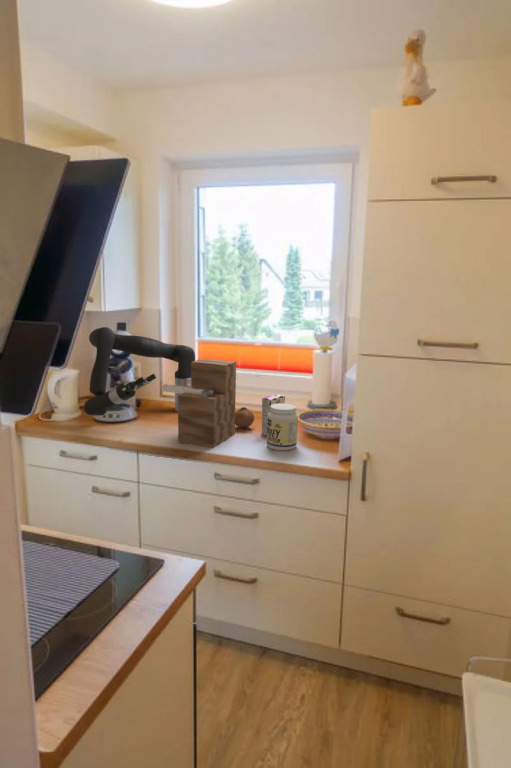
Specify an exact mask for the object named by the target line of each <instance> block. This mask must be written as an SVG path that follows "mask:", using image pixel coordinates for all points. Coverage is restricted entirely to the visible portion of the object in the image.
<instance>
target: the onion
mask: <svg viewBox="0 0 511 768" xmlns="http://www.w3.org/2000/svg"><path fill="white" fill-rule="evenodd" d="M254 421H255V415H254V412H253V411H251V410H250V409H249V408H247V407H245V406H243V407H240V408H239V409H238V410H237V411H236V410H235V427H238V428H241V429H247V428H250V426H252V425H253V423H254Z"/></svg>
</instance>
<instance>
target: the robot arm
mask: <svg viewBox="0 0 511 768" xmlns="http://www.w3.org/2000/svg"><path fill="white" fill-rule="evenodd" d="M88 340H89V342H90V344H91V345H92V346H93V347H95V348H96V356H95V361H94V364H93V367H92V370H91V375H90V379H89V380H90V381H89V393H90V394H93V395H94V396H93V397H91V398H88V399H87V400H86V401H85V402H84V404H83V412H84V413H85V414H86V415H88V416H99V417H101V416H104V415H105V414H106V413H107V412H108V409H111V408H114V407H115V406H117V405H120V404H122V403H124V402H126V401H128V400H129V399H130V400H131V399H132V398H133V397H135V395H136V392H137V391H139V390H140V389H141V388H143V387H145V386H147V385H149V384H151V383H152V381H154V380H156V379H157V376H156V374H155V373H152V374H150V375H149V376H145V377H143V376H141V377H140V378H137V379H135V380H132V381H130V380H125V381H123V382H121V383H119V384H118V385H116V386H113V388H111V389H110V390H108V391H106V390H107V381H108V373H109V366H110V365H109V364H110V360H111V355H112V352H113V351H114V350H115V351H119V352H123V353H127V354H132V355H135V356H140V357H144V358H161V359H162V358H163V359H167V360H170V361H173V362H176V363H177V365H178V366H177V370H175V371H174V385H176V386H185V387H191V362H193V361H196V352H195V350H194V349H193V347H191V346H188V345H184V344H172V343H166V342H162V341H161V340H158V339H154V338H151V337H146V336H142V335H141V336H140V335H129V334H128V335H127V334H125V335H124V334H117V333H114V331H113V330H112V329H111V328H110V327H108V326H107V327H106V326H103V327H98V328H95V329H94V330H92V331H91V332H90V334H89V337H88ZM112 350H113V351H112ZM180 394H182V393H174V411H175V412H177V413H178V395H180Z"/></svg>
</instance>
